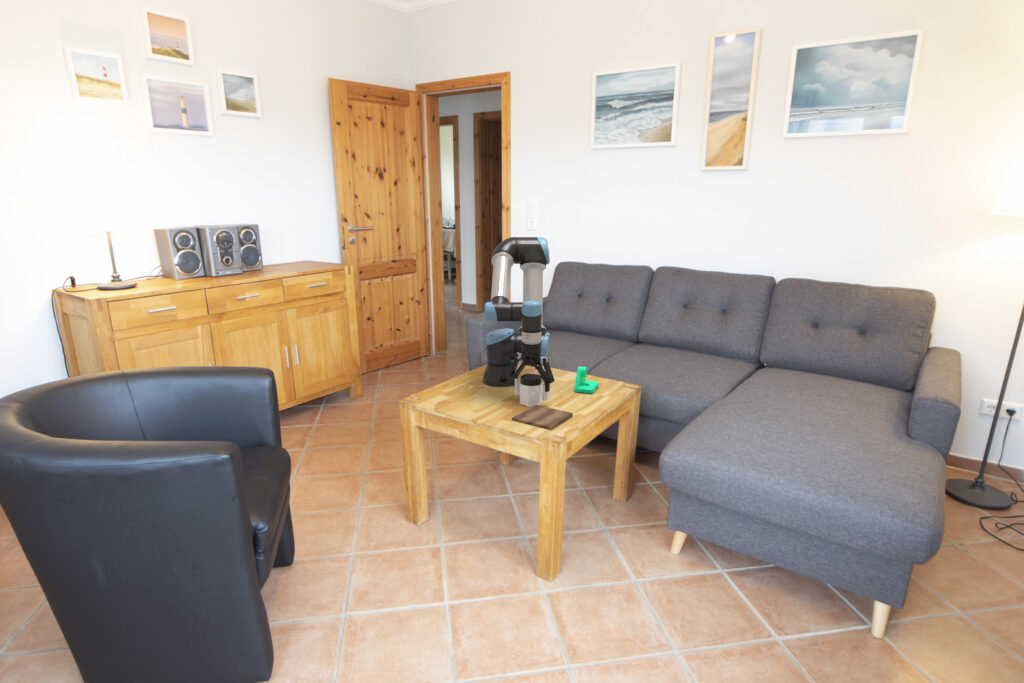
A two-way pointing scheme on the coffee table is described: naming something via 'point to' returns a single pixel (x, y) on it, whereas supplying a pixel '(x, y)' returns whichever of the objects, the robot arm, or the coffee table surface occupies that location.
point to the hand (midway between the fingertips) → (531, 396)
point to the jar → (531, 390)
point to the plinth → (543, 417)
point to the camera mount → (584, 382)
